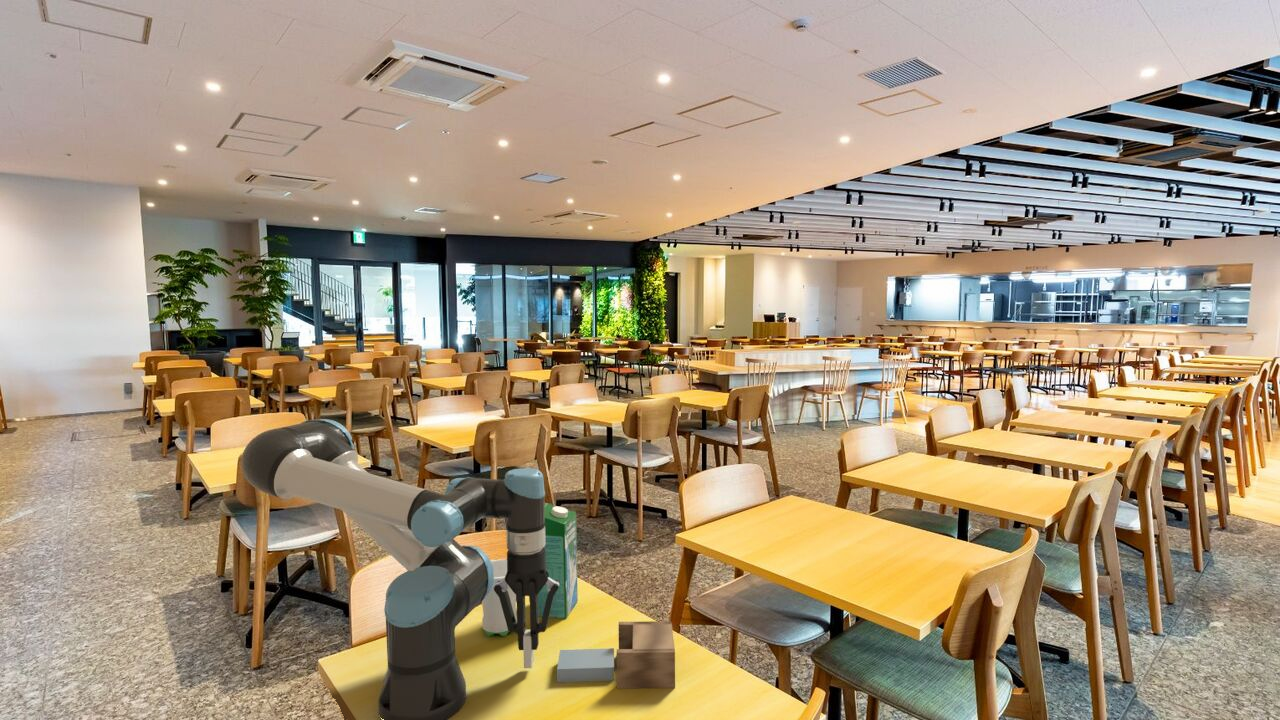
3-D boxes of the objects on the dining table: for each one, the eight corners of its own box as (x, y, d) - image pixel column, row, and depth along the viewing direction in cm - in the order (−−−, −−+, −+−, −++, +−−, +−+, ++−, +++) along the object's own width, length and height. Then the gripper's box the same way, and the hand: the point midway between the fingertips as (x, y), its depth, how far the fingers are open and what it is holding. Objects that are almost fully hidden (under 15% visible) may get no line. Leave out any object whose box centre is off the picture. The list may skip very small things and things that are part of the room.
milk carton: (566, 618, 146) (564, 514, 144) (529, 615, 147) (527, 511, 146) (577, 601, 154) (576, 502, 153) (543, 598, 156) (541, 500, 155)
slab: (557, 684, 120) (557, 669, 120) (560, 664, 127) (559, 650, 127) (614, 682, 121) (614, 667, 121) (614, 662, 128) (613, 648, 127)
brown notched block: (617, 688, 118) (616, 652, 117) (619, 654, 130) (618, 621, 129) (675, 687, 118) (674, 652, 118) (671, 653, 130) (671, 621, 130)
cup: (535, 625, 143) (534, 564, 142) (501, 647, 133) (499, 582, 132) (498, 613, 148) (497, 555, 148) (463, 633, 139) (461, 571, 138)
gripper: (488, 556, 118) (491, 675, 120) (556, 555, 119) (559, 674, 120) (497, 542, 126) (500, 654, 128) (561, 541, 126) (563, 654, 128)
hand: (528, 664), depth 124 cm, fingers closed
